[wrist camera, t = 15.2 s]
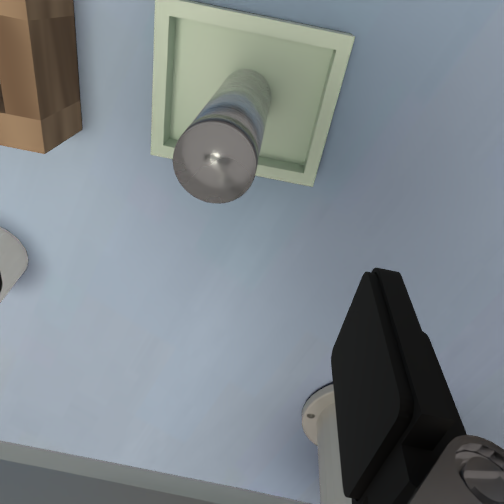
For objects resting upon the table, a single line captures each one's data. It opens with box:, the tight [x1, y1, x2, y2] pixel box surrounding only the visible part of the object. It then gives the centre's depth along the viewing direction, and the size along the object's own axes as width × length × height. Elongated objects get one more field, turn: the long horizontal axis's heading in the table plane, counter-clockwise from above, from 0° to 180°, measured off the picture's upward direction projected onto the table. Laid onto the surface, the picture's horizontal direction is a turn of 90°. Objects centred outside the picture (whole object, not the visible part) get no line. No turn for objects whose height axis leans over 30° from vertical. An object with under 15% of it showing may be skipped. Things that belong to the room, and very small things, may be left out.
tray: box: [151, 0, 355, 187], centre depth 25 cm, size 11×9×2 cm
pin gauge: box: [173, 69, 271, 203], centre depth 20 cm, size 3×3×12 cm
